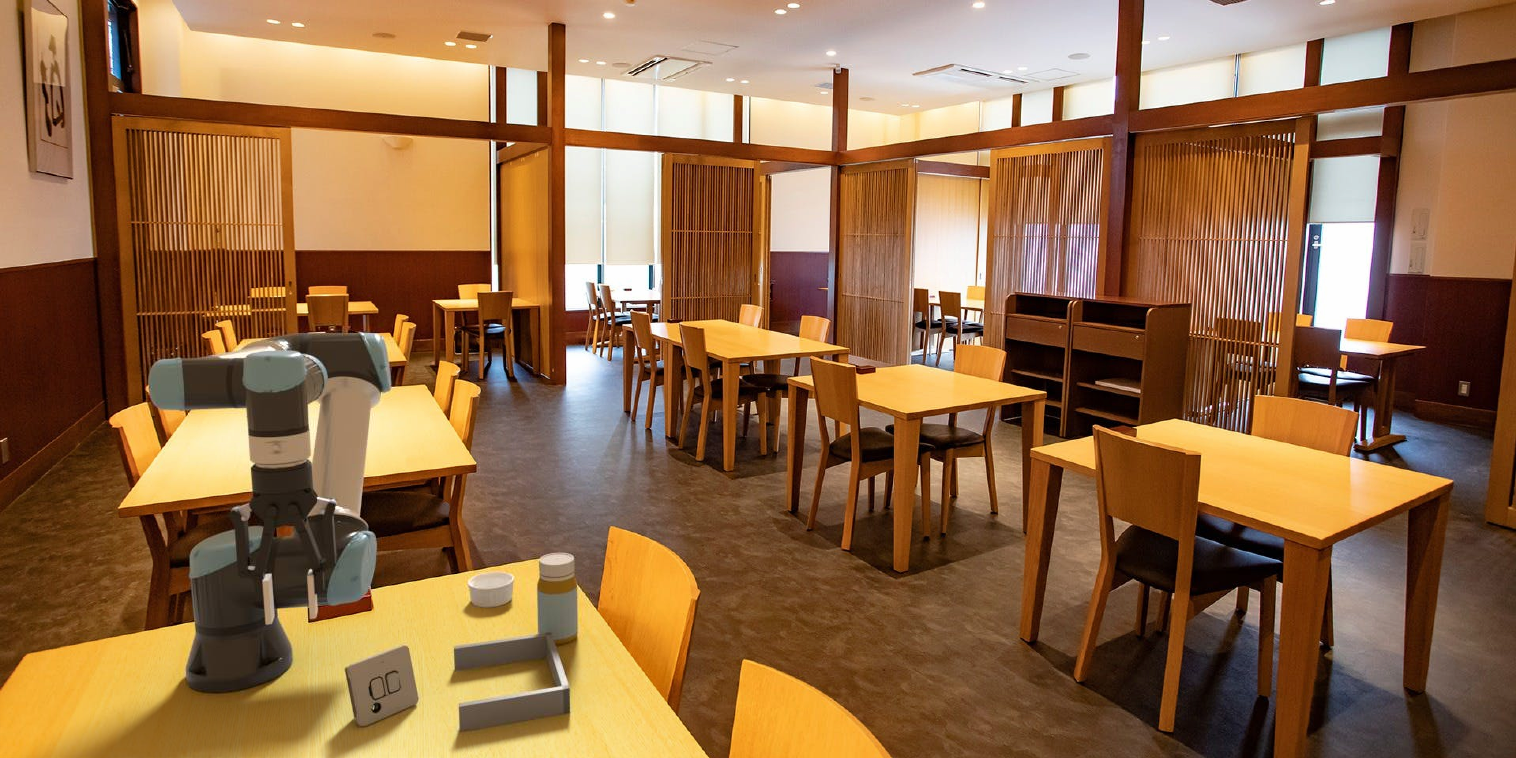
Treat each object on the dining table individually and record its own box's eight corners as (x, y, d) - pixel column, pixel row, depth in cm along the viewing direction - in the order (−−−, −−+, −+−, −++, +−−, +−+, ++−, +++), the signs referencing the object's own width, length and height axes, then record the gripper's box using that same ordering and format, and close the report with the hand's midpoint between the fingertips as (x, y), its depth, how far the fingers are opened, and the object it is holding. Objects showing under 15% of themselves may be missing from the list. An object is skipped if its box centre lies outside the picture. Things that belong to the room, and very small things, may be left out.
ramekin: (460, 607, 168) (459, 586, 168) (481, 589, 177) (481, 569, 176) (502, 611, 167) (501, 590, 166) (522, 593, 175) (521, 573, 175)
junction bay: (454, 668, 144) (453, 646, 143) (551, 653, 150) (551, 632, 149) (459, 732, 126) (458, 706, 125) (570, 712, 132) (569, 688, 131)
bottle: (585, 635, 157) (584, 557, 155) (557, 649, 151) (556, 569, 149) (558, 625, 161) (557, 549, 159) (530, 639, 155) (528, 560, 153)
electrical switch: (360, 730, 126) (354, 669, 125) (344, 720, 129) (337, 661, 128) (420, 704, 133) (414, 646, 132) (403, 696, 136) (397, 639, 135)
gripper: (200, 473, 114) (214, 637, 118) (349, 463, 120) (358, 619, 124) (213, 459, 121) (225, 615, 125) (353, 450, 127) (361, 599, 131)
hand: (292, 617), depth 124 cm, fingers open, 5 cm apart
